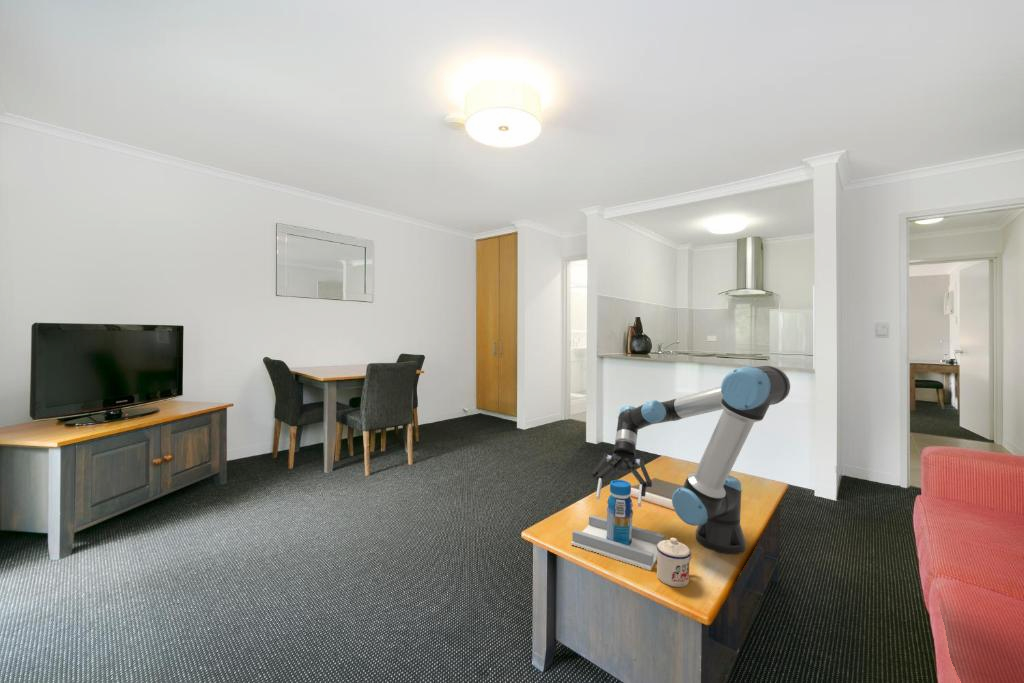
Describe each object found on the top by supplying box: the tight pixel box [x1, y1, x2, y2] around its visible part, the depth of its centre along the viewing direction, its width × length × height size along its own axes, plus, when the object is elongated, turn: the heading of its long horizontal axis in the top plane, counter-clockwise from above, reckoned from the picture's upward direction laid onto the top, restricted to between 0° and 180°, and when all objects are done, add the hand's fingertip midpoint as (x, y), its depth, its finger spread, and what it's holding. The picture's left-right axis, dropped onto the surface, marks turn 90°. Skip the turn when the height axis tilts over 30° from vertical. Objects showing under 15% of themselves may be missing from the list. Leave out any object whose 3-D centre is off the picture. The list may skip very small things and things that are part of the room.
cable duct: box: [570, 514, 666, 572], centre depth 139 cm, size 26×18×4 cm
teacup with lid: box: [656, 537, 692, 588], centre depth 121 cm, size 12×9×12 cm
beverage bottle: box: [606, 479, 634, 546], centre depth 139 cm, size 8×8×20 cm
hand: (618, 501), depth 139 cm, fingers open, 13 cm apart
